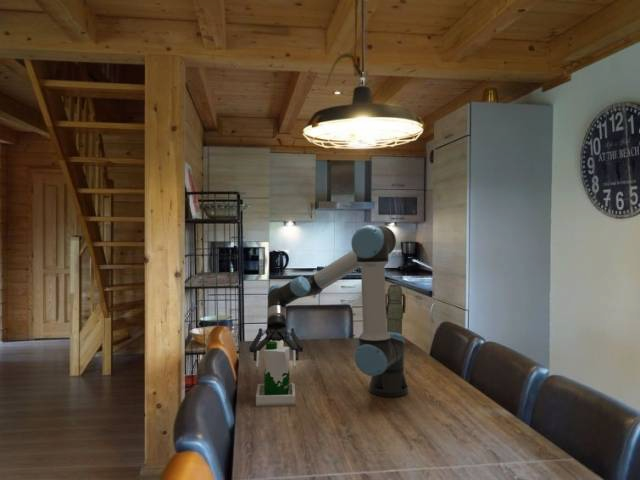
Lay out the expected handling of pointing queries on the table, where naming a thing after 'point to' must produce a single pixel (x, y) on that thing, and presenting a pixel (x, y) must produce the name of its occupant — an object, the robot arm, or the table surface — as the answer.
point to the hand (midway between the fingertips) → (276, 367)
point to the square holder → (275, 397)
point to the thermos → (395, 308)
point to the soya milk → (276, 369)
